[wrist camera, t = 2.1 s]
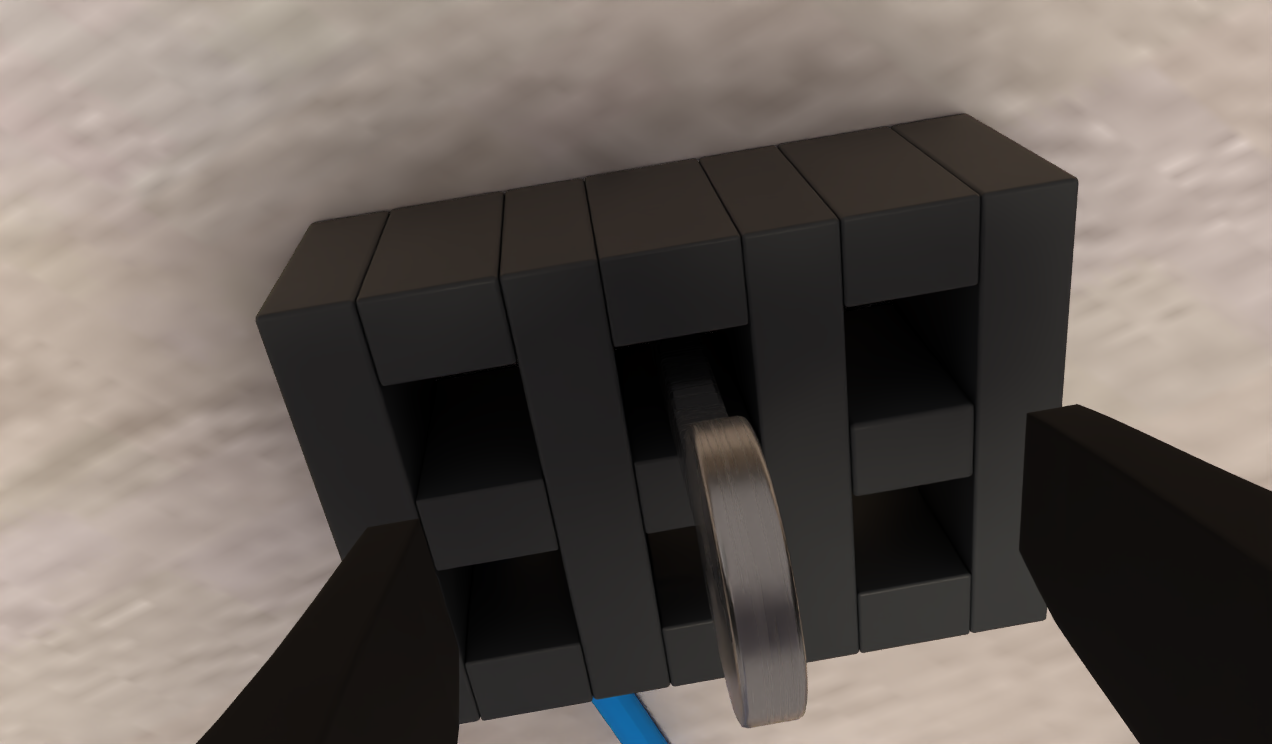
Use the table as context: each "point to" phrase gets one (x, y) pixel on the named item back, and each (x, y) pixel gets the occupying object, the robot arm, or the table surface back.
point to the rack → (745, 375)
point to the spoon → (736, 539)
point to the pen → (629, 720)
